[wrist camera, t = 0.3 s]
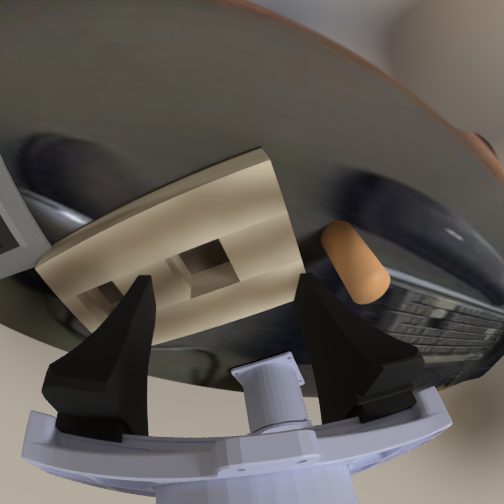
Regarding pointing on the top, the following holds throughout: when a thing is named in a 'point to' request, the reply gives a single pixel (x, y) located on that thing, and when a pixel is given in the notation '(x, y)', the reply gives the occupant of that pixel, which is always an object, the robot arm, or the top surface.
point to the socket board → (185, 251)
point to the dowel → (354, 262)
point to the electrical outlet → (17, 230)
